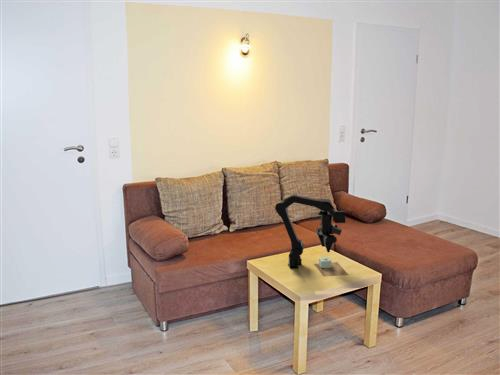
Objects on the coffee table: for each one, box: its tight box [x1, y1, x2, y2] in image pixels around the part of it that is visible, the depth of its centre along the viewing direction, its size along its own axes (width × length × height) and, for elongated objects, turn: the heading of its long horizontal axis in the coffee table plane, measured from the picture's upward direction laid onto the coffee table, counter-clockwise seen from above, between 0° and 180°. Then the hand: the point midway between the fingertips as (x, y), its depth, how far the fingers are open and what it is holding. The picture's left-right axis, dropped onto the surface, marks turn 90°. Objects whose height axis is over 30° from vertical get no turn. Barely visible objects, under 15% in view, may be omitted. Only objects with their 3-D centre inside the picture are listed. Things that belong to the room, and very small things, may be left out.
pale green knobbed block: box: [318, 256, 332, 268], centre depth 250 cm, size 6×6×4 cm
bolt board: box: [313, 261, 349, 277], centre depth 247 cm, size 14×18×4 cm
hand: (325, 249), depth 248 cm, fingers open, 9 cm apart
